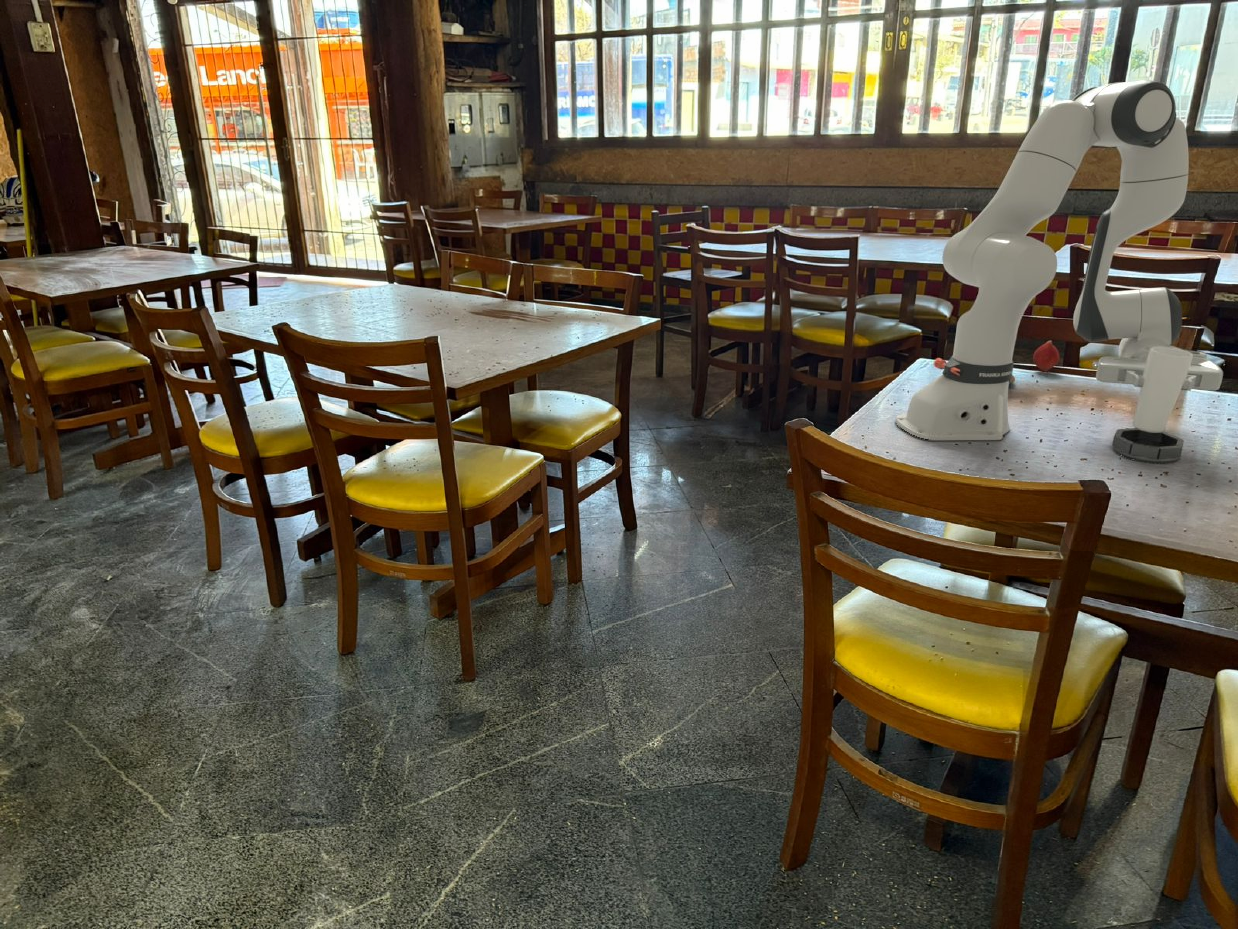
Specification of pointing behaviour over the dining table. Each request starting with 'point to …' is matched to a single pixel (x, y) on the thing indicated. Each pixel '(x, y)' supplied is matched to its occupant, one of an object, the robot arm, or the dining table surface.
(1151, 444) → the ring
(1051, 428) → the dining table surface
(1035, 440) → the dining table surface
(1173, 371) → the drinking glass
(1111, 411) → the dining table surface
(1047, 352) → the onion
